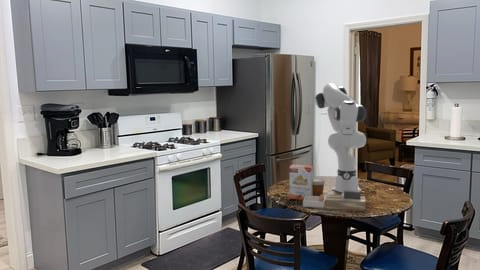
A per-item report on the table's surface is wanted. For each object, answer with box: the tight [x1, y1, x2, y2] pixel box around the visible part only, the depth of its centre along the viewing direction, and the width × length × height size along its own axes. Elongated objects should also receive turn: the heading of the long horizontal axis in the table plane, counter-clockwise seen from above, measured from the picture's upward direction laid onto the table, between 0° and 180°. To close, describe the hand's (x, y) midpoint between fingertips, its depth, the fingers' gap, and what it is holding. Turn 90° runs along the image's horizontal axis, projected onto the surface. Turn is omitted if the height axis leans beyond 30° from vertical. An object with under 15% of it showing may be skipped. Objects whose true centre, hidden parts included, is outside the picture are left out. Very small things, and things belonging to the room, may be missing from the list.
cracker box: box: [289, 164, 315, 201], centre depth 248 cm, size 14×6×21 cm, turn 64°
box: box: [302, 195, 326, 209], centre depth 237 cm, size 12×12×4 cm
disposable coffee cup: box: [312, 177, 325, 196], centre depth 248 cm, size 10×10×12 cm
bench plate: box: [324, 193, 366, 212], centre depth 232 cm, size 12×22×5 cm, turn 74°
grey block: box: [341, 190, 361, 201], centre depth 231 cm, size 12×10×4 cm
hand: (347, 152), depth 233 cm, fingers open, 8 cm apart
